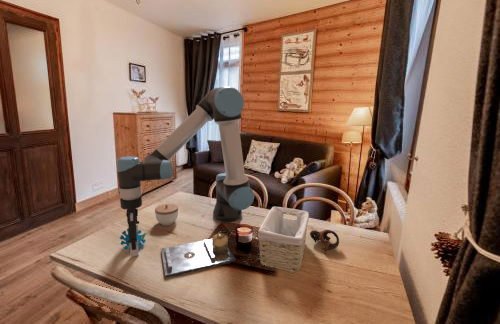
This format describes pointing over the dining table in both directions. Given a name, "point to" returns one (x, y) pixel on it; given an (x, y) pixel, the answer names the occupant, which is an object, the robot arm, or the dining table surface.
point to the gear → (139, 239)
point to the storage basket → (283, 239)
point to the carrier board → (196, 256)
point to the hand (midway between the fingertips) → (135, 247)
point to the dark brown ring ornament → (323, 236)
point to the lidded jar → (166, 213)
